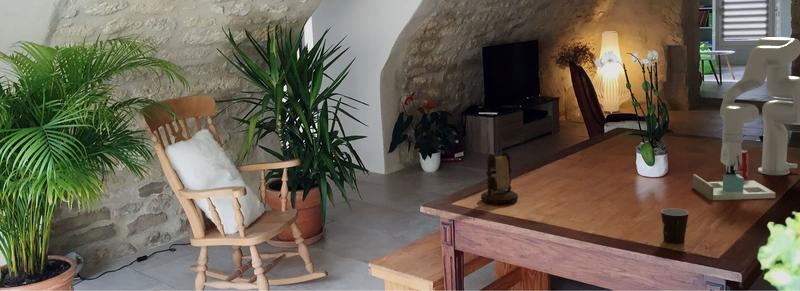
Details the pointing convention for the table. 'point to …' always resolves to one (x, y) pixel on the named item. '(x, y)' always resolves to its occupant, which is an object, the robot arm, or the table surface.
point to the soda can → (743, 165)
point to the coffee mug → (674, 225)
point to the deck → (718, 193)
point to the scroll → (499, 180)
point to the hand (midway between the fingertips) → (730, 181)
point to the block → (733, 183)
